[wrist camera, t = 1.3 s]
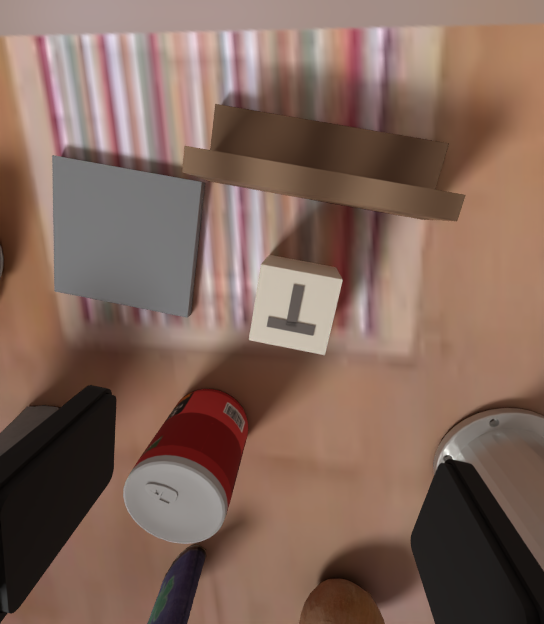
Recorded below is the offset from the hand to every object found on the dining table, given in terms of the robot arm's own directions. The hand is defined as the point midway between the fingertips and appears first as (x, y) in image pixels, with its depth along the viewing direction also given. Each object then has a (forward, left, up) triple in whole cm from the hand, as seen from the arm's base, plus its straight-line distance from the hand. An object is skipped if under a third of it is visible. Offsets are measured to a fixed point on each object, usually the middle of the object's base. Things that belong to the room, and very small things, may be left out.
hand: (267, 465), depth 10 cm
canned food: (+6, +15, -23) cm, 28 cm away
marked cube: (0, 0, -22) cm, 22 cm away
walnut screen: (0, -11, -22) cm, 25 cm away
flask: (+7, +37, -23) cm, 44 cm away
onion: (-12, +35, -23) cm, 43 cm away
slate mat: (+16, -2, -22) cm, 27 cm away
